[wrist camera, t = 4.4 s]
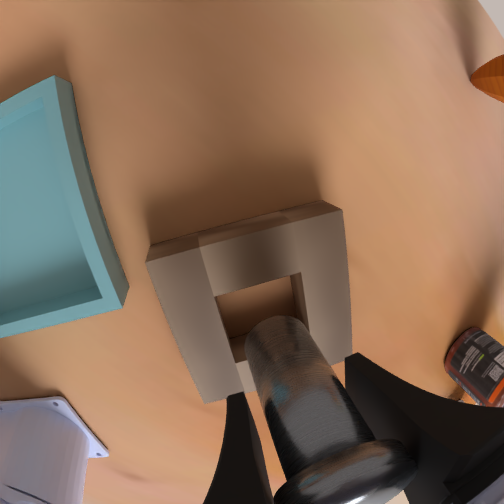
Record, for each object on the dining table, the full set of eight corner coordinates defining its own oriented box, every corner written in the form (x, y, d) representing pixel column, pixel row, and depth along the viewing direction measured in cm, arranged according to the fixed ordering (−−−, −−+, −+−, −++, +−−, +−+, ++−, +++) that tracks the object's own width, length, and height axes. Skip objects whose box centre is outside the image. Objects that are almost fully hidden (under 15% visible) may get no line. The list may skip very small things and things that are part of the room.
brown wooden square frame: (201, 378, 20) (204, 403, 18) (150, 245, 17) (145, 262, 14) (337, 336, 21) (352, 357, 19) (322, 200, 18) (342, 209, 15)
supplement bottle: (463, 368, 28) (521, 426, 18) (433, 373, 27) (497, 443, 16) (486, 324, 26) (554, 378, 16) (459, 324, 25) (536, 389, 14)
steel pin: (242, 385, 15) (290, 541, 7) (221, 319, 14) (270, 508, 5) (322, 361, 16) (404, 495, 8) (314, 292, 14) (431, 440, 6)
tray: (-10, 324, 16) (-25, 343, 13) (-67, 165, 11) (-89, 170, 9) (129, 286, 17) (122, 307, 15) (71, 83, 13) (54, 75, 10)
